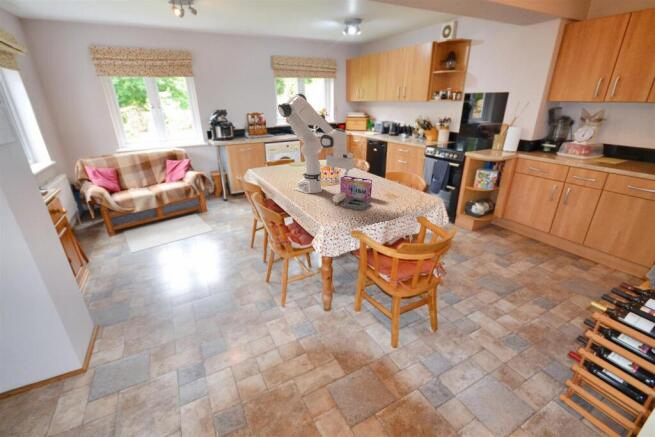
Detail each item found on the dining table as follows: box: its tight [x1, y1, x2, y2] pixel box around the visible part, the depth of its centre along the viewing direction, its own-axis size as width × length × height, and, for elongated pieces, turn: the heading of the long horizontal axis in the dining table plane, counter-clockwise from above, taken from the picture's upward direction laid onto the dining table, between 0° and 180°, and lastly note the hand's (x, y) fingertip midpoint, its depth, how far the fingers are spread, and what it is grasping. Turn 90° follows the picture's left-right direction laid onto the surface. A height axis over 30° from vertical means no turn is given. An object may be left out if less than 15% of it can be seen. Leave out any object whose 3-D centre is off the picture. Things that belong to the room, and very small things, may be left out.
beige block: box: [332, 192, 346, 205], centre depth 209 cm, size 4×11×6 cm, turn 148°
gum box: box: [339, 175, 373, 201], centre depth 219 cm, size 24×8×14 cm, turn 57°
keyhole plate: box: [342, 197, 372, 212], centre depth 203 cm, size 14×14×2 cm
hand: (340, 174), depth 202 cm, fingers open, 8 cm apart
